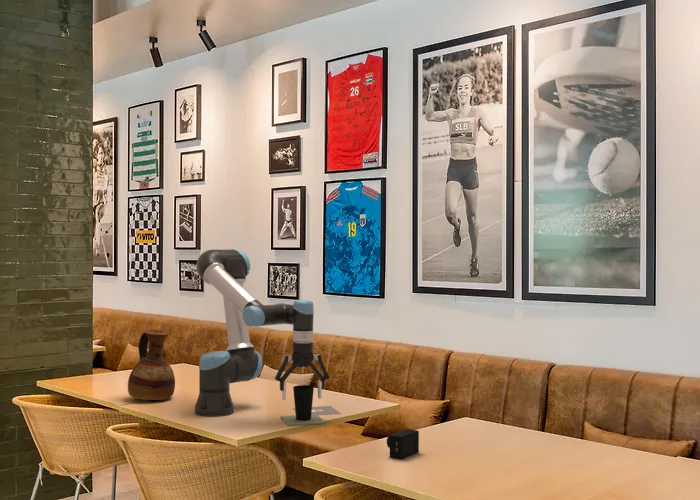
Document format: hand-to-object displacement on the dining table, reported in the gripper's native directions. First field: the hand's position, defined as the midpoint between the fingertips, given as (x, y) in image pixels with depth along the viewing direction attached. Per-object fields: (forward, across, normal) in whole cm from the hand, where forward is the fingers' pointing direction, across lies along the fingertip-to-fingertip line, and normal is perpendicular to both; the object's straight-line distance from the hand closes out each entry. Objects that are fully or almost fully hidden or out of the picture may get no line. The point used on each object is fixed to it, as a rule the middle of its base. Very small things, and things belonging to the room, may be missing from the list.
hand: (301, 398), depth 279 cm
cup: (+8, +1, -1) cm, 8 cm away
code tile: (+8, +9, +15) cm, 20 cm away
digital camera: (+7, +20, -56) cm, 59 cm away
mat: (+8, 0, -1) cm, 8 cm away
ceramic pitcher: (+10, -53, +58) cm, 79 cm away
